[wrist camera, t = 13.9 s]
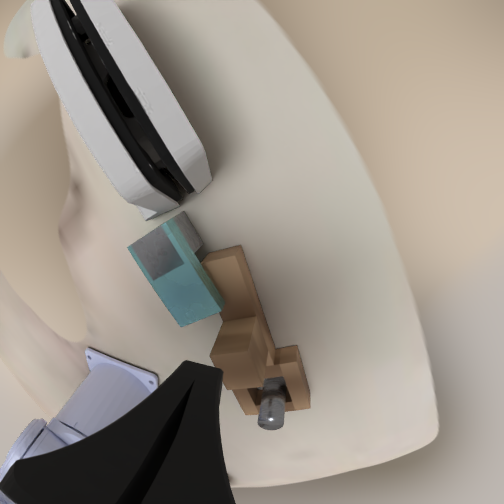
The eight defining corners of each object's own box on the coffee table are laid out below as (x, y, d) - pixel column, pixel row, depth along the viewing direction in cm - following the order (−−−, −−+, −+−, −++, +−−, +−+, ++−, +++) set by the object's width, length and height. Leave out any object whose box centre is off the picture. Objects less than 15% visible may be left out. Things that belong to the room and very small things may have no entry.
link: (310, 392, 22) (310, 442, 17) (248, 400, 23) (238, 447, 18) (265, 238, 18) (254, 274, 13) (186, 258, 19) (153, 296, 14)
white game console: (61, 54, 14) (2, -6, 5) (111, 21, 15) (74, -57, 5) (153, 224, 18) (102, 249, 9) (213, 185, 18) (223, 167, 9)
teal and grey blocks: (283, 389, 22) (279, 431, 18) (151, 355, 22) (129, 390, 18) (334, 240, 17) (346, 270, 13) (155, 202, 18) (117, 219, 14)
